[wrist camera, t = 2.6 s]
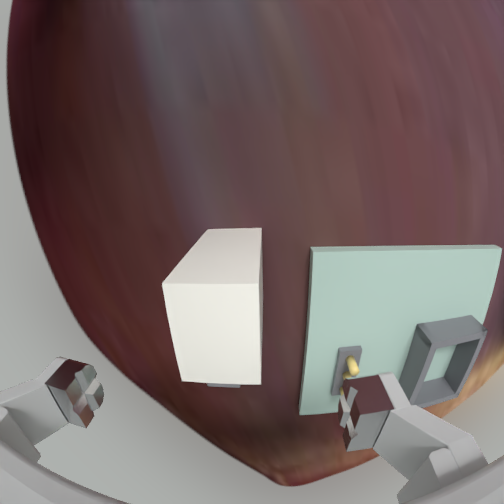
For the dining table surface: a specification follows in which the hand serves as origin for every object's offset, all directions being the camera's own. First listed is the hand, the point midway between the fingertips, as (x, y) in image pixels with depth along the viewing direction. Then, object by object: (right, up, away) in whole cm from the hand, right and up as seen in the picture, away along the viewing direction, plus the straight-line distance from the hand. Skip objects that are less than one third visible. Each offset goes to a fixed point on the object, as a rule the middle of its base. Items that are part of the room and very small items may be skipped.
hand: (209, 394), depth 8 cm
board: (+13, -2, +11) cm, 17 cm away
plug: (0, +4, +10) cm, 10 cm away
